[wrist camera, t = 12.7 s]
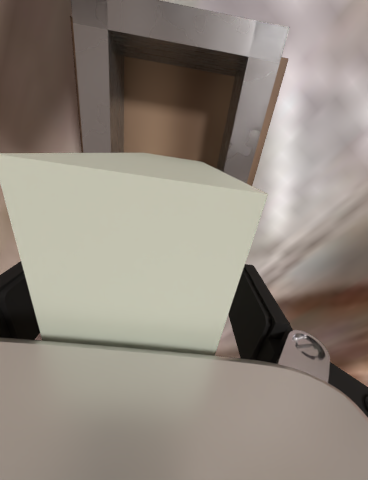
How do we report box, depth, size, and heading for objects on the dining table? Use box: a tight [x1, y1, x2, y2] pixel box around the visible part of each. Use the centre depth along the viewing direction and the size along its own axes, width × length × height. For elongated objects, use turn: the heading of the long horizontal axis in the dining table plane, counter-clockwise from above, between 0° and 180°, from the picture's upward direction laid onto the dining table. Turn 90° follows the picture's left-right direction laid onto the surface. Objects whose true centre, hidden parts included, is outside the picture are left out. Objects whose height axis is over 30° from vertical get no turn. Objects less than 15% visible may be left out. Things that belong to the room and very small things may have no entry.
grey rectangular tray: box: [70, 0, 289, 186], centre depth 15 cm, size 12×24×4 cm, turn 172°
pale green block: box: [0, 153, 268, 356], centre depth 10 cm, size 4×12×11 cm, turn 172°
